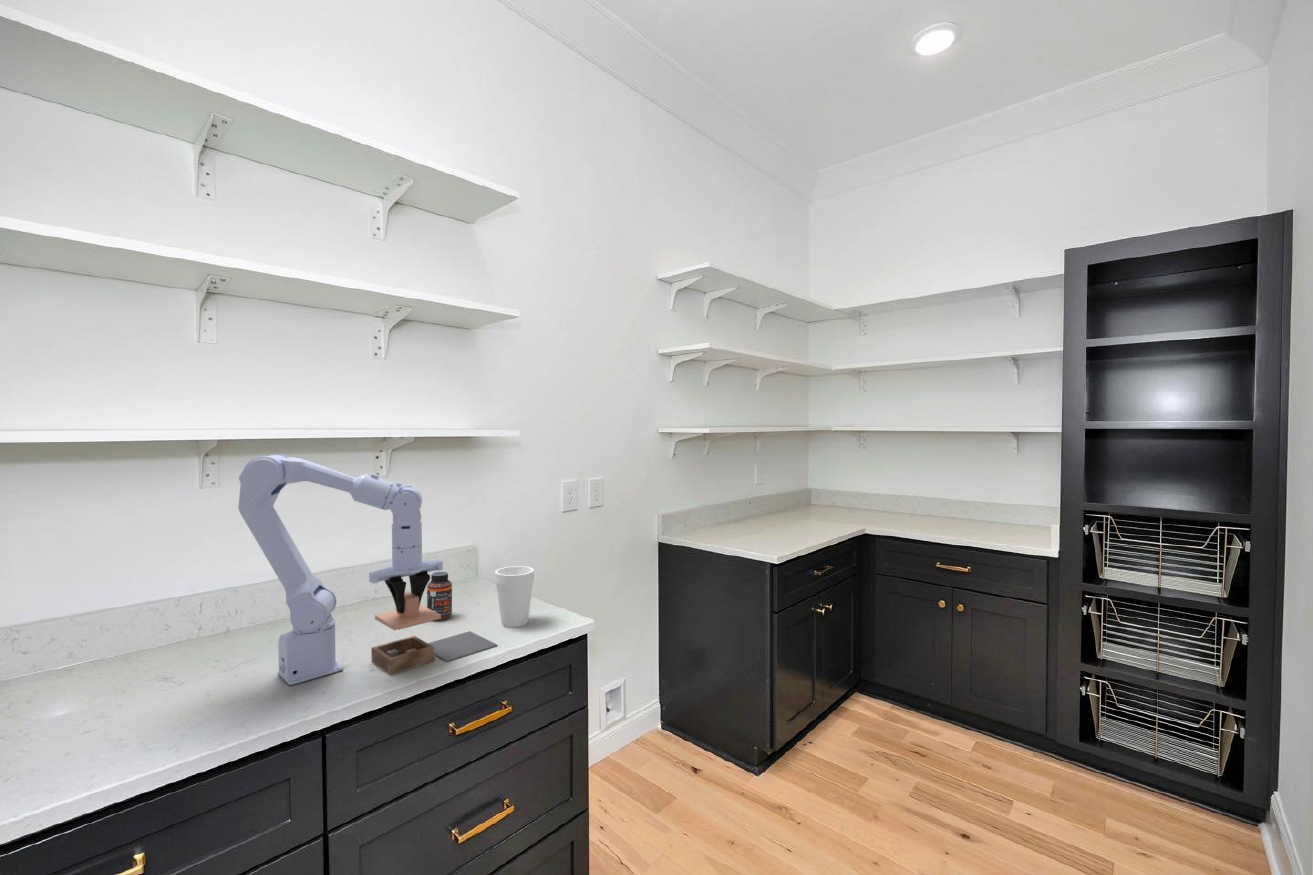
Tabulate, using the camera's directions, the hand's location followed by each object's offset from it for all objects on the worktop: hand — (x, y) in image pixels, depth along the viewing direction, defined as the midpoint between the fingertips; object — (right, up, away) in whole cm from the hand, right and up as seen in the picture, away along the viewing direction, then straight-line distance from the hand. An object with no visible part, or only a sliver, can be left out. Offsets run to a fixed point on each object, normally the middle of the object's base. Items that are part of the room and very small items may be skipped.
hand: (407, 610), depth 120 cm
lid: (0, -2, 0) cm, 2 cm away
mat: (+8, -10, +8) cm, 15 cm away
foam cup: (+17, -10, +23) cm, 30 cm away
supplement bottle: (-3, -10, +26) cm, 28 cm away
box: (-1, -11, 0) cm, 11 cm away
